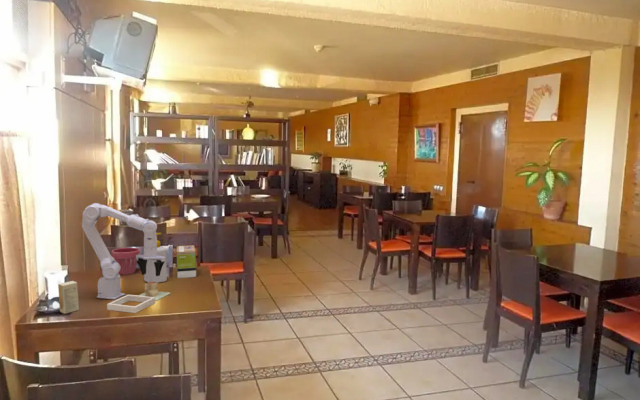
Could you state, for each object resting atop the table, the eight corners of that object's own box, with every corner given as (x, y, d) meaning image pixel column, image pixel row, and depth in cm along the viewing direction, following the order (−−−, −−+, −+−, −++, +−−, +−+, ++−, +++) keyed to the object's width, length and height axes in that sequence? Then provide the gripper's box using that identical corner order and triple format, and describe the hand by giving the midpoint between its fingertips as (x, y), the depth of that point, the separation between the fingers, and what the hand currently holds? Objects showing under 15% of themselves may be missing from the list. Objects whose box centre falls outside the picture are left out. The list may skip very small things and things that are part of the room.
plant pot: (135, 268, 270) (134, 246, 269) (143, 273, 259) (143, 250, 258) (109, 271, 261) (108, 249, 260) (116, 277, 250) (116, 253, 249)
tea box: (176, 271, 265) (176, 245, 263) (195, 270, 268) (194, 244, 266) (177, 278, 251) (176, 251, 249) (196, 277, 254) (196, 250, 252)
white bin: (107, 309, 200) (107, 304, 200) (128, 299, 214) (128, 294, 214) (135, 313, 197) (135, 307, 197) (155, 302, 210) (155, 297, 210)
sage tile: (133, 298, 216) (132, 297, 216) (148, 291, 227) (148, 290, 227) (155, 301, 213) (155, 300, 213) (170, 293, 224) (170, 292, 224)
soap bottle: (167, 281, 245) (166, 233, 242) (151, 284, 238) (150, 235, 235) (159, 277, 251) (158, 231, 248) (143, 281, 244) (142, 233, 241)
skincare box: (74, 308, 202) (73, 280, 201) (79, 310, 199) (78, 282, 198) (58, 311, 197) (57, 283, 196) (63, 314, 194) (62, 285, 193)
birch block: (145, 296, 218) (144, 283, 217) (150, 293, 222) (150, 281, 221) (152, 297, 217) (152, 284, 216) (157, 294, 221) (157, 281, 220)
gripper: (131, 247, 218) (132, 275, 219) (158, 249, 214) (159, 278, 216) (141, 244, 225) (141, 272, 226) (167, 246, 221) (168, 274, 222)
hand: (150, 275), depth 221 cm, fingers open, 7 cm apart
